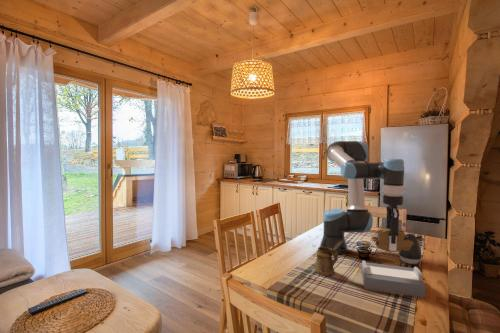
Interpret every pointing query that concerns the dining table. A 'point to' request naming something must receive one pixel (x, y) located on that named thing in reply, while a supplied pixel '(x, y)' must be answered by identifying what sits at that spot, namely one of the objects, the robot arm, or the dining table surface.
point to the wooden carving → (383, 241)
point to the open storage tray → (393, 279)
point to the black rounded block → (411, 251)
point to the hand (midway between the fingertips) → (391, 248)
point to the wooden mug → (326, 260)
